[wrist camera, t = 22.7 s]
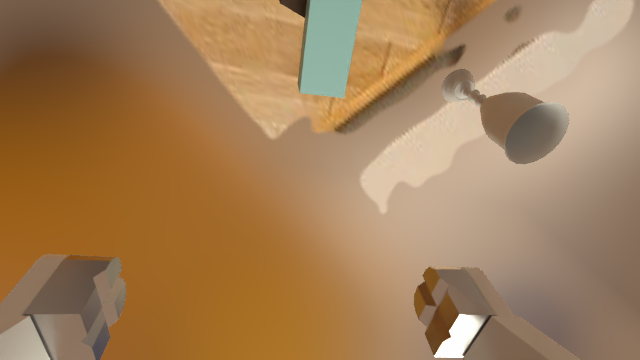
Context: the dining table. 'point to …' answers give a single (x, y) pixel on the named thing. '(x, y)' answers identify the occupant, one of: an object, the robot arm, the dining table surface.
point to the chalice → (512, 118)
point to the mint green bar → (327, 46)
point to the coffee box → (295, 6)
